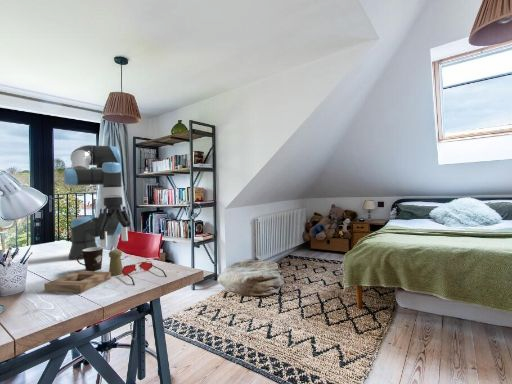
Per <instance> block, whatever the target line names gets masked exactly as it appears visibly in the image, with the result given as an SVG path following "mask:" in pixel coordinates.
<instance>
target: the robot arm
mask: <svg viewBox="0 0 512 384" xmlns="http://www.w3.org/2000/svg"><path fill="white" fill-rule="evenodd" d="M120 153H121V152H120V150H119V147H117V146H112V145H91V144H90V145H89V144H88V145H87V144H86V145H82V146H80V147H77V148H75V149H74V150H73V151H72V152H71V154H70V161H71V164H70V165H71V168H65V169H64V173H63V177H64V179H63V180H64V184H65V185H67V186H95V185H96V186H100V208H99V213H98V217H95V215H94V214H93V215H91V214H90V215H85V216H80V217H79V216H78V217H75V218H72V220H71V222H70V230H71V231H70V232H71V246H70V251H69V253H68V259H69V260H76V261H77V257H78V256H79V255H83V252H82V250H84V249H87V248H93V247H98V244H97V242H96V238H99V242H100V243H99V244H100V247H103V248H107V247H108V236H110V237H111V236H112V237H113V236H116V235H120V234H121V235H120V236H121V241H122V242H128V241H129V238H128V237H129V236H128V235H129V234H128V231H129V229H128V227H130V226H131V220H130V218H129V215H128V212H127V209H126V206H122V205H123V188H122V187H123V185H122V160H121V159H122V158H121V154H120ZM90 166H96V168H90ZM78 260H84V257H83V256H80V257H79V259H78Z"/></svg>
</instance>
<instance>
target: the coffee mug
mask: <svg viewBox="0 0 512 384" xmlns="http://www.w3.org/2000/svg"><path fill="white" fill-rule="evenodd" d="M103 251H104V247H101V246H97V247H93V248H87V249H84V250H82V252H83V255H79V256H78V257H77V259H76V261H77V263H78V264H79V265H82V266H84V267H85V271H99V270H101V269H102V264H103V256H104V255H103V254H104V253H103ZM80 256H83V257H84V259H83V260H84V261H83V262H84V263H82V262H80V259H79V257H80Z"/></svg>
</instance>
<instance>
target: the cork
mask: <svg viewBox="0 0 512 384" xmlns="http://www.w3.org/2000/svg"><path fill="white" fill-rule="evenodd" d="M122 252H123V251H122V250H121V249H113V250H110V251H109V253H108V257H109V258H110V259H109V268H108V269H109V270H108V272H111V277H118V276H121V275H123V274H122V272H121V271H122V270H123V267H124V266H123V262H122V254H123V253H122Z"/></svg>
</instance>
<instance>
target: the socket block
mask: <svg viewBox="0 0 512 384" xmlns="http://www.w3.org/2000/svg"><path fill="white" fill-rule="evenodd" d="M111 279H112V276H111V272H109V271H99V270H97V271H86V270H77V271H75V272H72V273H69V274H66V275H63V276H60V277H59V278H58V277H57V278H56V279H54V280H51V281H48V282H45V283H44V285H43V286H44V290H43V291H44V293H45V292H46V293H47V292H48V293H61V294H62V293H67V294H82V293H85V292H86V291H89V290H90V289H92V288H94V287H97V286H99V285H101V284H103V283H105V282H107V281H109V280H111Z"/></svg>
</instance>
